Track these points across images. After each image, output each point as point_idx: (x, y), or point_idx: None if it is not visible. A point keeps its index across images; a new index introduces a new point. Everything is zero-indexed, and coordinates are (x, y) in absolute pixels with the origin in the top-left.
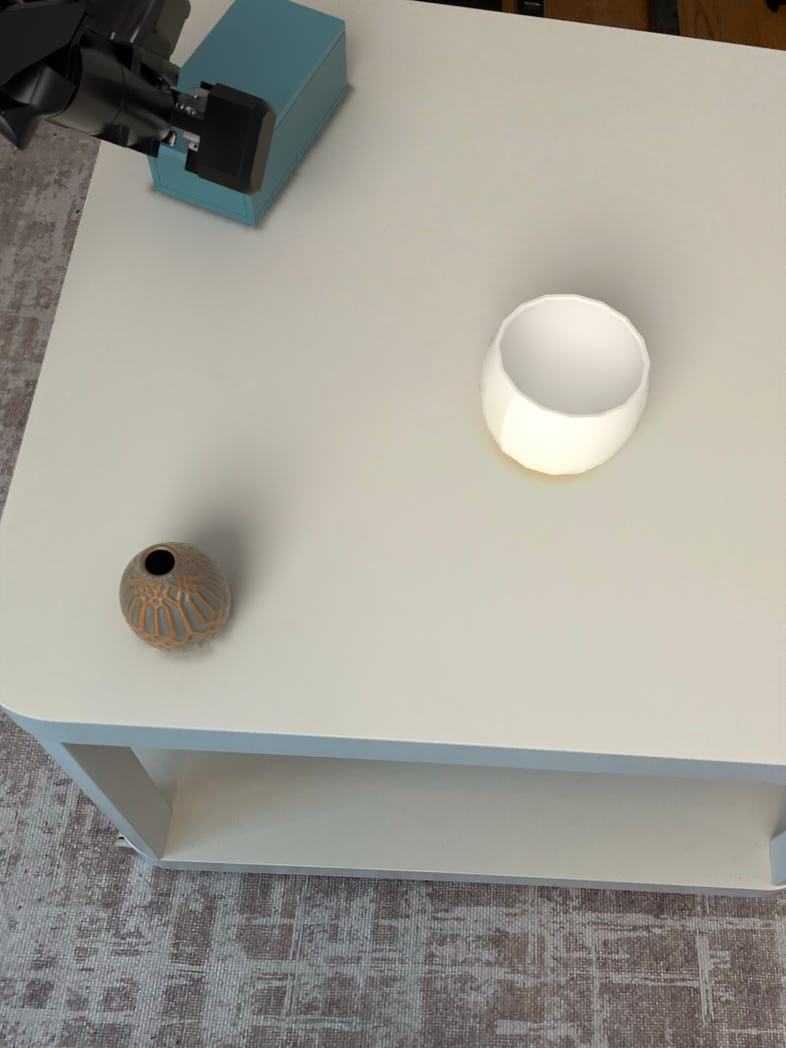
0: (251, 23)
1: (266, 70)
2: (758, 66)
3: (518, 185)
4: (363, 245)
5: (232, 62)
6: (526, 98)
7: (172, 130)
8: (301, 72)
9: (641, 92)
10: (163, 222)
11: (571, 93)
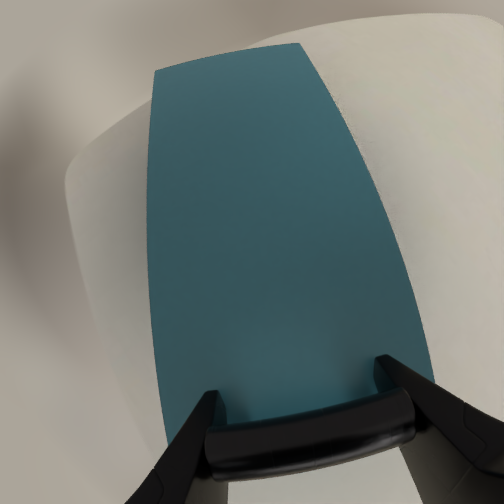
0: (196, 98)
1: (285, 147)
2: (458, 16)
3: (497, 134)
4: (491, 296)
5: (221, 168)
6: (417, 59)
7: (244, 411)
8: (335, 121)
9: (450, 39)
10: None
11: (429, 48)
